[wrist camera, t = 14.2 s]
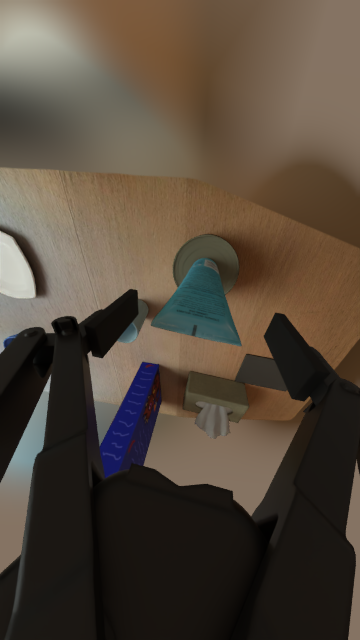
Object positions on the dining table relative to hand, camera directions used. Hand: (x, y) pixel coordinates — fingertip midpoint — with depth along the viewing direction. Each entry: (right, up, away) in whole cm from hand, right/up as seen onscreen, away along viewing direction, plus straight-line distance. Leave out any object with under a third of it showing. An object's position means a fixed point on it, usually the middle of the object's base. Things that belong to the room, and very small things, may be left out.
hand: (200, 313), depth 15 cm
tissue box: (+10, -24, +40) cm, 47 cm away
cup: (-13, +3, +28) cm, 31 cm away
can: (+4, +12, +19) cm, 23 cm away
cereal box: (-12, -25, +45) cm, 53 cm away
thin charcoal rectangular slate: (+24, -17, +32) cm, 44 cm away
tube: (+3, +8, +14) cm, 16 cm away
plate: (-50, +15, +28) cm, 59 cm away
